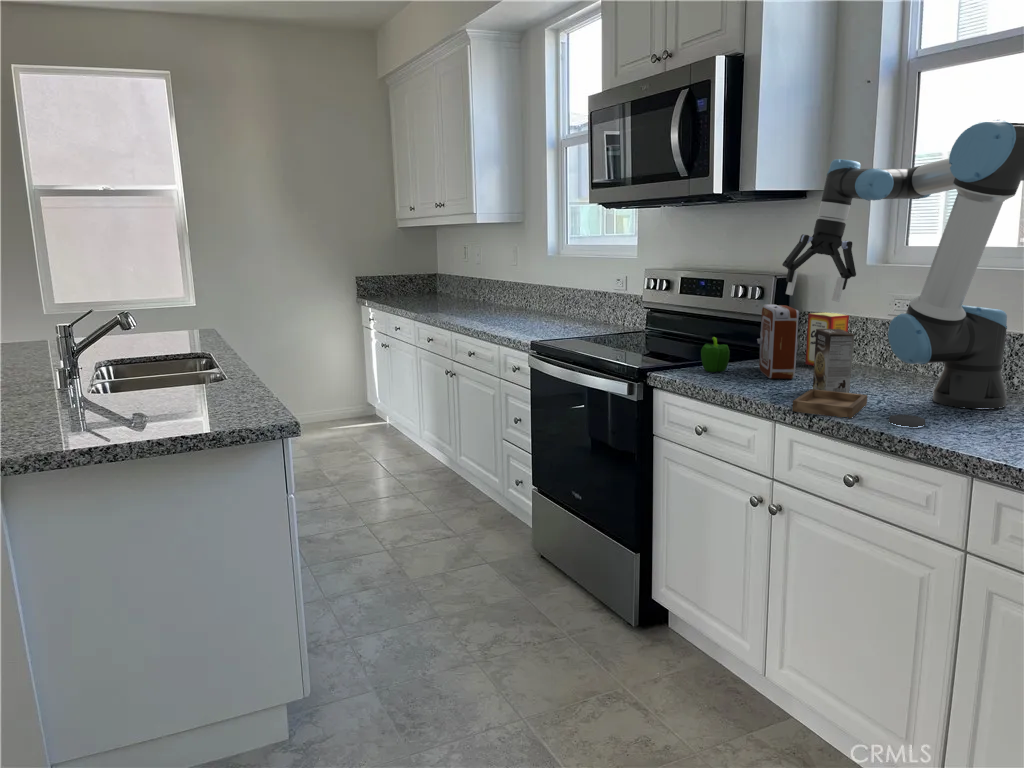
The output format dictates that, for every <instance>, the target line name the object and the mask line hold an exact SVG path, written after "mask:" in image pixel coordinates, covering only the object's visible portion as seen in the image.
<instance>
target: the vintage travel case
mask: <svg viewBox="0 0 1024 768" xmlns="http://www.w3.org/2000/svg"><path fill="white" fill-rule="evenodd" d="M799 317H800V312H799V310H798V309H795V308H793V307H791V306H790V305H789V306H788V305H783V304H779V305H777V304H763V306H762V309H761V324H760V333H759V334H760V335H759V336H760V338H757V339H756V340H757V344H759V362H758V363H759V366H758V367H759V370H760V372H761V373H762V374H763V375H765V377H767V378H768V379H769V380H792V379H794V378H795V375H796V373H795V372H796V363H797V362H796V361H797V352H798V347H799V343H798V330H799V329H798V327H799Z"/></svg>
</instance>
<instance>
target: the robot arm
mask: <svg viewBox="0 0 1024 768" xmlns="http://www.w3.org/2000/svg"><path fill="white" fill-rule="evenodd" d="M953 143H954V144H953V145H952V147H951V149H950V153H949V157H948V158H944V159H940V160H937V161H933V162H929V163H924V164H922V165H918V166H914V167H909V168H861V163H860V162H859V161H856V160H850V159H840V158H839V159H838V158H837V159H836V158H835V159H833V160H832V161H831V162H830V164H829V168H828V171H827V174H826V178H825V183H824V188H823V192H822V196H821V201H820V205H819V208H818V213H817V216H818V217H819V218H817V219H816V221H815V224H814V228H813V235H812V236H810V235H808V234H801V235H800V237H799V241H798V242H797V244H796V245H795V246H794V248H793V249H792V251H790V252H789V255H787V257H786V258H785V259H784V261H783V263H782V267H784V268H785V269H786V270H787V273H786V274H787V275H786V278H785V281H786V283H787V286H786V291H785V295H789V296H793V294H794V290H795V287H796V283H797V278H798V274H799V271H796V270H797V269H799V268H800V267H801V266H802V265H804V264H805V263H806V262H807V261H808V260H809V259H811V257H813V256H814V255H816V254H817V255H825V256H830V257H831V259H832V260H833V263H834V265H835V267H836V269H837V271H838V273H839V275H840V276H837V278H836V282H835V285H834V291H833V293H832V298H831V300H832V301H834V302H837V303H839V302H840V299H841V296H842V292H843V291H844V290H845V289H846V287H847V284H848V280H849V279H851V278H855V277H856V276H857V270H856V265H855V261H854V260H855V259H854V256H853V251H852V248H853V241H850V240H842V239H843V236H844V234H845V230H846V225H847V224H846V222H845V221H847V220H848V217H849V213H850V210H851V205H852V202H853V199H857V200H866V201H881V200H899V199H900V200H907V199H908V200H919V199H926V198H928V197H930V196H931V195H933V194H934V195H935V194H938V193H942V192H943V193H944V192H948V191H953V190H956V191H957V195H956V197H955V199H954V203H953V204H952V208H951V210H950V213H949V216H948V219H947V221H946V224H945V227H944V229H943V233H942V234H941V238H940V240H939V243H938V246H937V249H936V250H935V251H936V252H935V254H934V256H933V259H932V263H931V266H930V268H929V270H928V274H927V276H926V279H925V281H924V285H923V287H922V290H921V293H920V295H919V296H916V297H914V298H912V299H911V300H910V301H909V304H908V306H907V309H906V312H905V313H903V312H902V313H900V314H898V315H897V316H894V317H893V318H892V320H891V321H890V322H889V326H888V331H887V338H888V343H889V345H890V348H891V351H892V352H893V354H894V355H895V356H896V358H897V359H899V360H900V361H901V362H903V363H905V364H910V365H913V364H915V365H916V364H918V365H926V364H934V363H944V366H943V370H942V372H941V374H940V376H939V378H938V380H937V383H936V385H935V386H934V389H933V394H932V401H933V402H934V403H937V404H940V405H943V404H944V405H943V406H947V405H949V407H952V406H955V407H954V408H958V407H965V408H964V409H966V408H999V407H1003V406H1005V405H1006V406H1007V401H1008V395H1007V391H1006V389H1005V383H1004V380H1003V375H1002V367H1003V366H1002V365H1003V359H1004V353H1005V344H1006V336H1007V330H1008V325H1007V323H1008V322H1007V321H1008V315H1007V312H1005V310H1002V309H997V308H990V307H981V306H980V307H979V306H974V305H972V306H971V305H964V304H963V303H964V301H965V299H966V297H967V293H968V291H969V288H970V286H971V283H972V281H973V279H974V276H975V274H976V272H977V268H978V267H979V264H980V262H981V259H982V256H983V253H984V251H985V249H986V246H987V244H988V241H989V238H990V236H991V234H992V231H993V229H994V226H995V223H996V221H997V218H998V216H999V213H1000V211H1001V208H1002V206H1003V204H1004V202H1005V201H1007V200H1009V199H1010V198H1012V197H1015V196H1016V193H1017V191H1018V189H1019V186H1020V184H1021V182H1022V181H1024V120H1002V119H994V120H990V121H989V120H988V121H979V122H977V123H975V124H972V125H971V126H969V127H968V128H966V129H965V130H964V131H962V133H961V134H960V135H959V136H958V137H957V139H955V141H954V142H953ZM809 243H810V244H811V245H810V246H809V247H808V248H807V249H806V250H805V251H804V253H802V252H803V250H804V249H805V248H806V246H807V245H808V244H809ZM840 247H841V249H842V254H843V258H844V261H843V259H842V256H841V253H840V251H839V249H840ZM801 253H802V254H801ZM800 254H801V255H800ZM1006 406H1005V407H1006Z"/></svg>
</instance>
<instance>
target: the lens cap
mask: <svg viewBox="0 0 1024 768" xmlns="http://www.w3.org/2000/svg"><path fill="white" fill-rule="evenodd" d="M889 422H890V423H893V424H896V425H901V426H909V427H918V426H923V425H925V426H926V418H923V417H922V416H919V415H918V416H917V415H911V414H893V415H889V416H888V423H889Z"/></svg>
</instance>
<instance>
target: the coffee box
mask: <svg viewBox="0 0 1024 768" xmlns="http://www.w3.org/2000/svg"><path fill="white" fill-rule="evenodd" d="M854 344H855V334H854V333H851V332H850V331H848V332H847V331H844V330H841V329H816V342H815V359H814V366H813V379H812V389H816V390H825V391H835V392H844V393H850V388H851V380H852V379H851V378H852V377H851V376H852V367H853V354H854Z"/></svg>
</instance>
